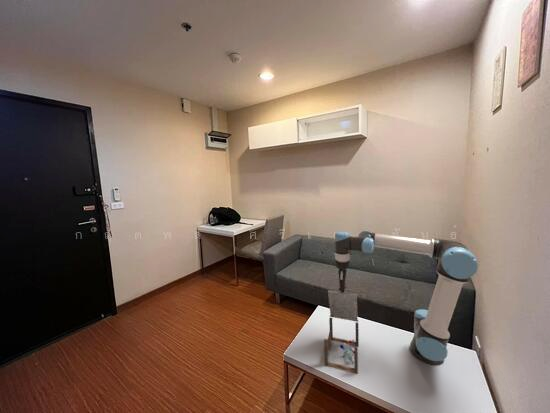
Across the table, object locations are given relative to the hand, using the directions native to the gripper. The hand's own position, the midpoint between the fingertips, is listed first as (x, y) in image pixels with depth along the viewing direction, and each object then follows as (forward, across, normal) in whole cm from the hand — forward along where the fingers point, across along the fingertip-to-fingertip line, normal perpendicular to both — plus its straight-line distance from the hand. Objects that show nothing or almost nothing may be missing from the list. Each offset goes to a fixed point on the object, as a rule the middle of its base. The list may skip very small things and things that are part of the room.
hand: (342, 300), depth 124 cm
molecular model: (+28, +8, +3) cm, 29 cm away
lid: (+4, 0, 0) cm, 4 cm away
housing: (+27, +7, 0) cm, 28 cm away
